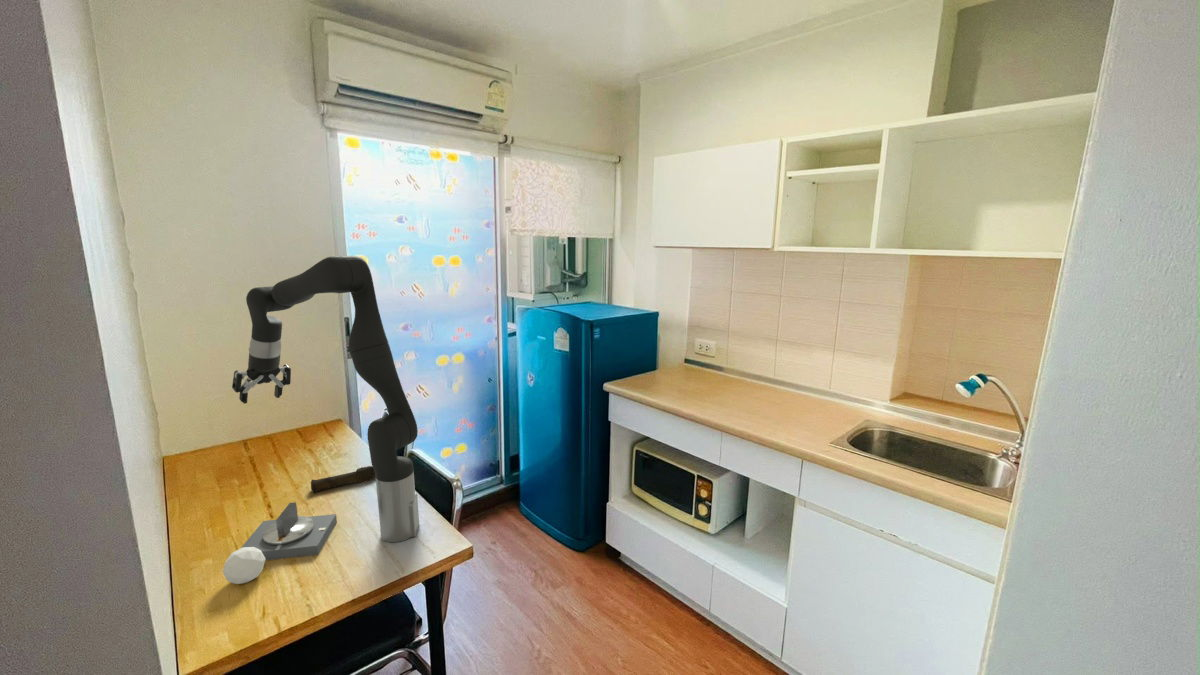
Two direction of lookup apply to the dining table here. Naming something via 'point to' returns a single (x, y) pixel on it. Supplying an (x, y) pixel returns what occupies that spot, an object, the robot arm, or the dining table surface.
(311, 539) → the dial panel
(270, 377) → the robot arm
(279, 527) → the dial knob
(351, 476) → the hand tool
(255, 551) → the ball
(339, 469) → the dining table surface
